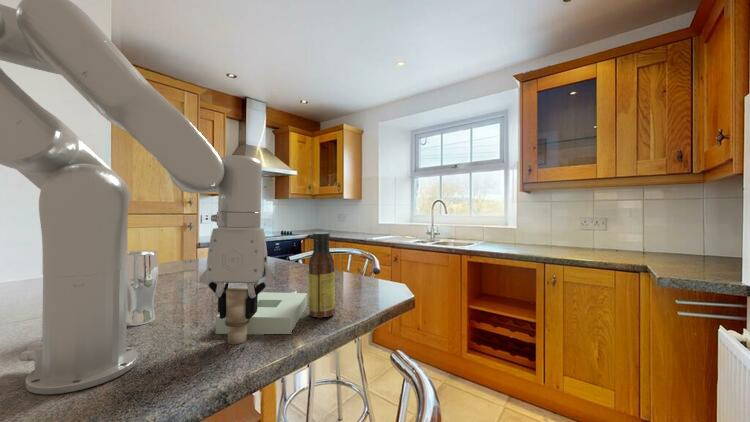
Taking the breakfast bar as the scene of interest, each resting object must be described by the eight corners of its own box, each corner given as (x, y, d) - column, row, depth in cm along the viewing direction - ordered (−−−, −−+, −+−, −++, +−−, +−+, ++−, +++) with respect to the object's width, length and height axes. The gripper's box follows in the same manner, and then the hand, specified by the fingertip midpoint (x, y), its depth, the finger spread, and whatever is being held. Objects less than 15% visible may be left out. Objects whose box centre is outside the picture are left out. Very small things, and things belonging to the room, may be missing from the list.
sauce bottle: (337, 311, 79) (339, 232, 79) (331, 320, 73) (333, 234, 73) (311, 310, 80) (313, 231, 80) (303, 318, 74) (305, 233, 73)
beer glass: (111, 323, 68) (112, 253, 68) (146, 313, 74) (148, 249, 74) (128, 329, 65) (129, 256, 65) (164, 319, 71) (165, 252, 71)
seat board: (215, 333, 64) (215, 316, 64) (248, 305, 82) (248, 292, 82) (290, 334, 64) (290, 317, 64) (307, 306, 82) (307, 293, 82)
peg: (220, 345, 59) (221, 291, 59) (230, 335, 63) (231, 285, 63) (244, 345, 59) (245, 292, 59) (252, 336, 63) (253, 286, 63)
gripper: (183, 221, 57) (182, 322, 57) (278, 223, 57) (276, 324, 58) (205, 219, 64) (203, 309, 65) (288, 221, 65) (286, 310, 65)
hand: (237, 315), depth 61 cm, fingers closed on peg, 4 cm apart
